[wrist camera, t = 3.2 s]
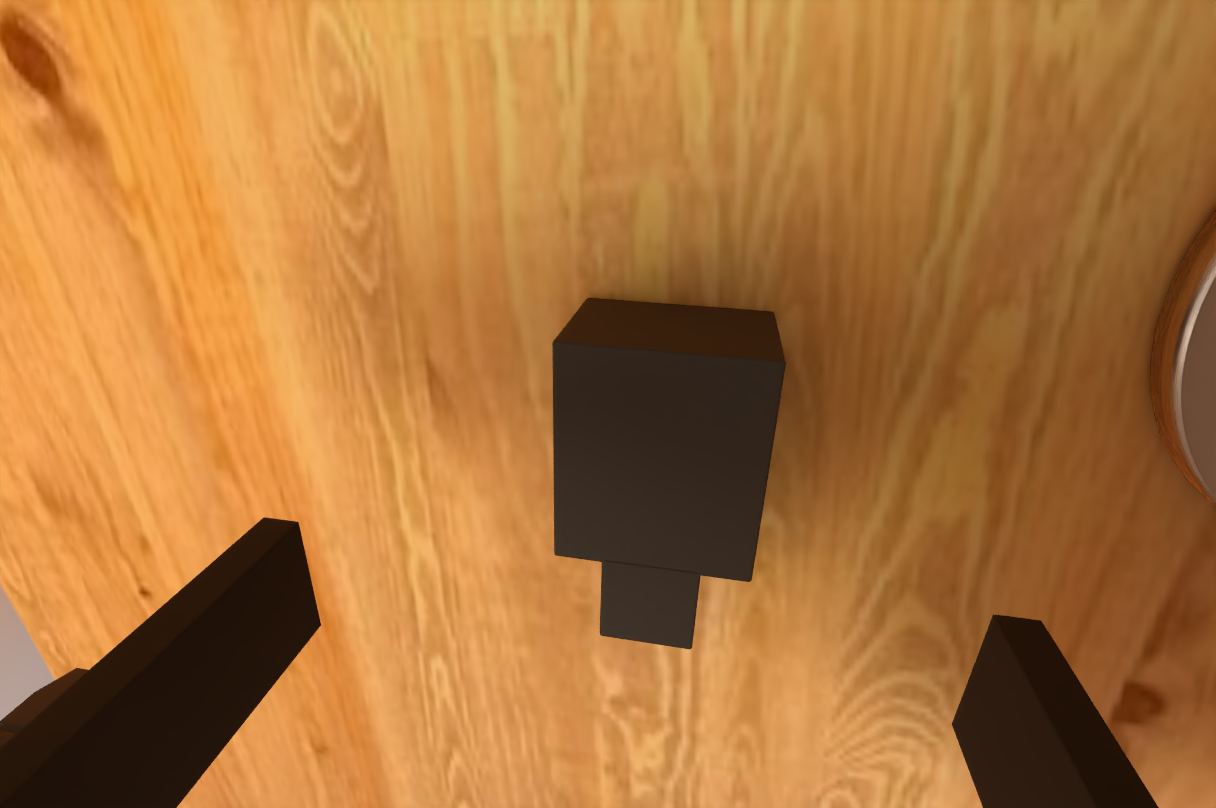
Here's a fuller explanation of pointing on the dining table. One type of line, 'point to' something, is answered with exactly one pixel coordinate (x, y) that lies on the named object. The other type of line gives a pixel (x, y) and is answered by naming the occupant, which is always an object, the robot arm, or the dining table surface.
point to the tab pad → (662, 453)
